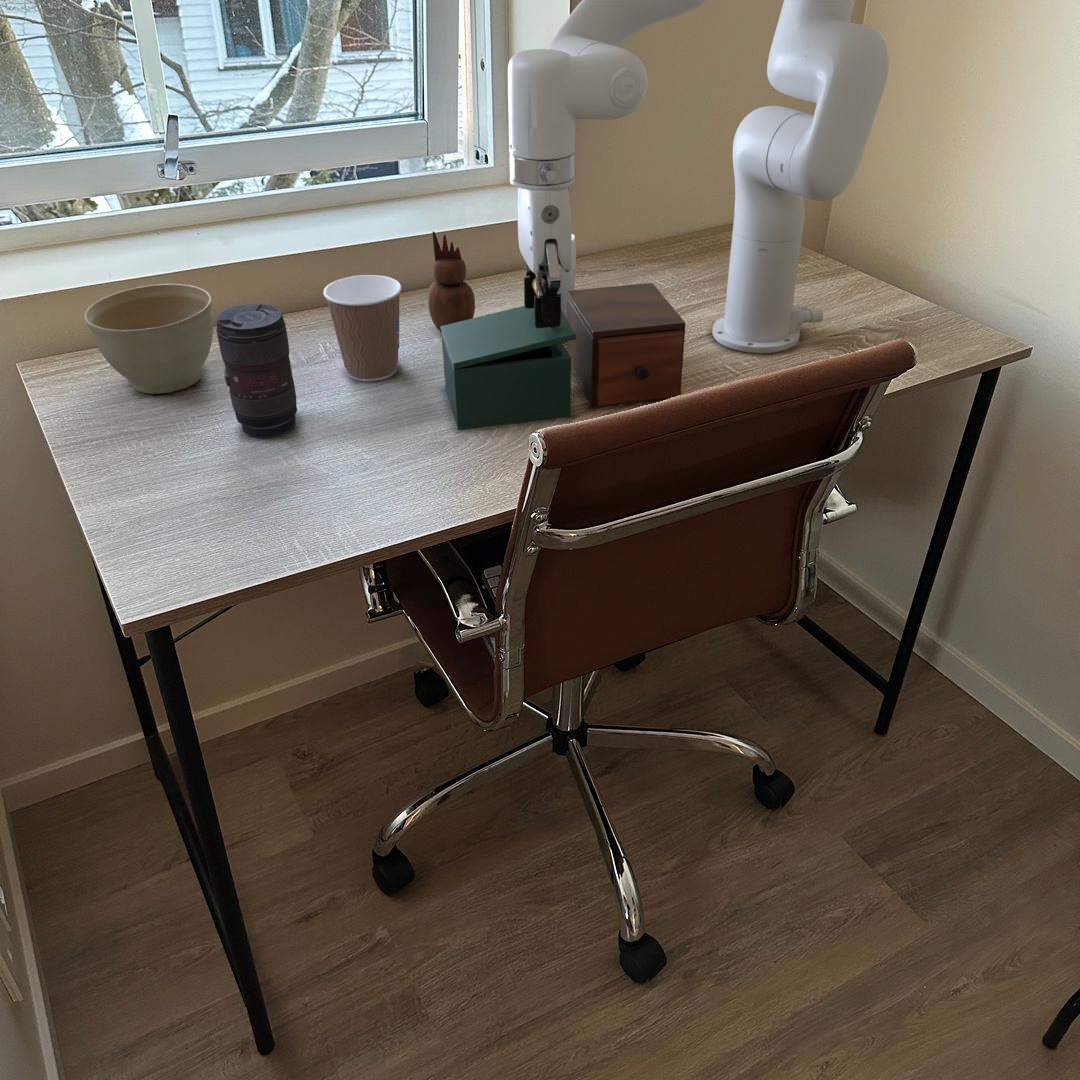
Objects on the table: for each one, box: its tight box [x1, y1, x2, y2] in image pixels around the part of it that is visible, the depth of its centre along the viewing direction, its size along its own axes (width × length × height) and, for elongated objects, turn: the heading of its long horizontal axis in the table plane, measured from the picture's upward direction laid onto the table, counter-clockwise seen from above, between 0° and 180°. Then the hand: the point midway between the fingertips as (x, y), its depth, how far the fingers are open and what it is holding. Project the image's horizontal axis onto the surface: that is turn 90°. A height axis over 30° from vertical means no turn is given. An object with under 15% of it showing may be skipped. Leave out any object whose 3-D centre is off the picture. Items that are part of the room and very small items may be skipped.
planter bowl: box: [84, 283, 214, 395], centre depth 138 cm, size 16×16×11 cm
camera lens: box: [215, 303, 298, 439], centre depth 126 cm, size 8×8×15 cm
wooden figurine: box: [427, 231, 476, 333], centre depth 149 cm, size 7×6×15 cm
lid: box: [441, 278, 576, 369], centre depth 127 cm, size 15×12×5 cm
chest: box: [440, 332, 572, 431], centre depth 132 cm, size 15×12×8 cm
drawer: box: [596, 330, 684, 406], centre depth 134 cm, size 14×11×9 cm
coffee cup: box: [323, 274, 402, 382], centre depth 139 cm, size 10×10×12 cm
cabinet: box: [566, 282, 686, 409], centre depth 136 cm, size 14×12×11 cm
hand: (542, 315), depth 128 cm, fingers closed on lid, 5 cm apart
